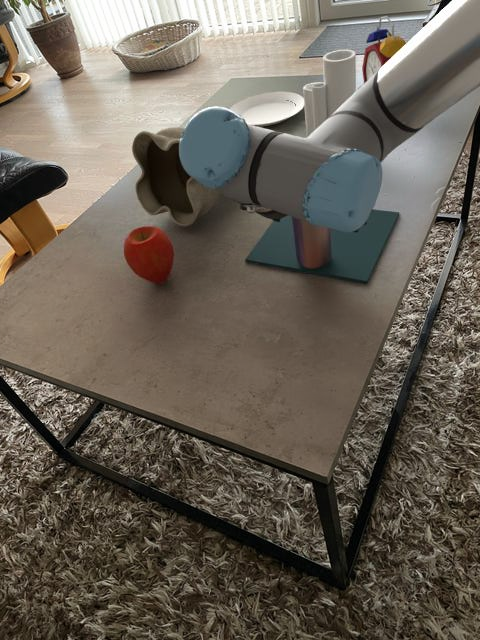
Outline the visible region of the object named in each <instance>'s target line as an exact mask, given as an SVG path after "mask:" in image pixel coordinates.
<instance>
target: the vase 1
mask: <svg viewBox="0 0 480 640" xmlns="http://www.w3.org/2000/svg"><path fill="white" fill-rule="evenodd" d="M184 128H185V127H182V126H172V127H166V128H163V129H161V130H159V131H157V132H156V133H154V132H150V131H147V130H143V131H140V132H138V133H137V134H136V135H135V137H134V139H133V141H132V146H131V151H132V155H133V158H134V160H135V161H136V164H137V165H138V166H139V168H140V169H141V175H140V177H139V178H138V179H137V181H136V182H135V187H134V188H135V194H136V197H137V200H138V201H139V204H140V205H141V207H142V208H143V210H144V211H145V212H146V213H147V214H148V215H150V216H156V215H160V214H165V213H168V215H169V217H170V219H171V220H172V222H174V223H175V224H177V225H179V226H181V227H189V226H191V225H193V224H194V223H195V221H196V220H197V218H200V217H202V216H205V215H206V214H207V213H209V211H211V209H212V208H213V207H214V205H215V204H216V202H217V200H218V198H219V196H220V193H219V192H217V191H215V190H213V189H210V188H207V187H203V186H202V185H201V183H199V182H198V181H197V180H195V179H194V178H192V177H191V176H190V175H189V174H188V173H187V172H186V171H185V169H184V168H183V166H182V163H181V160H180V156H179V144H180V139H181V135H182V133H183V130H184Z"/></svg>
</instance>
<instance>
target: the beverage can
mask: <svg viewBox="0 0 480 640" xmlns="http://www.w3.org/2000/svg"><path fill="white" fill-rule="evenodd" d="M292 224H293V232H294V241H295V250H296V259H297V262H298V263H299V264H300V265H301V266H302V267H304V268H306V269H320V268H322V267H324V266H326V265H327V264H328V263H329V261H330V260H331V258H332V248H331V228H328V227H321V226H319V227H318V226H315V225H312V224H311V223H309V222H306V221H303V220H301V219H298V218H295V217H292Z"/></svg>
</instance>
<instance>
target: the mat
mask: <svg viewBox="0 0 480 640" xmlns="http://www.w3.org/2000/svg"><path fill="white" fill-rule="evenodd" d="M399 217H400V211H391V210H383V209H374V208H372V210H371V212H370V215H369V217H368V220H367V224H366V225H362V226H361V227H360V228H359V231H358V233H357V232H343V231H339V230H335V229H331V248H332V258H331V260H330V261H329V263H328V264H327V265H326V266H324V267H322V268H320V269H306V268H304V267H302V266H301V265H300V264H299V263H298V262H297V259H296V250H295V241H294V232H293V224H292V216H289V215H288V216H286V217H283V218H281V219H280V222H276V221H274V220H272V222H271V224H270V225H268V227H267V228H266V230H265V232H264V233H263V235H262V236H261V237H260V239H259V240H258V241H257V242H256V244H255V245H254V247H253V248H252V250H251V251H250V252H249V254H248V255H247V256H246V258H245V259H244V261H245V263H249V264H254V265H260V266H266V267H270V268H271V267H272V268H277V269H283V270H287V271H293V272H299V273H305V274H311V275H315V276H321V277H326V278H333V279H336V280H337V279H338V280H344V281H348V282H355V283H360V284H365V285H366V284H367V285H368V283H369V281H370V279H371V277H372V274H373V272H374V270H375V268H376V266H377V264H378V261H379V260H380V257H381V255H382V253H383V251H384V249H385V247H386V245H387V242H388V240H389V238H390V236H391V235H392V234H391V233H392V232H393V230H394V227H395V225H396V223H397V221H398V219H399Z"/></svg>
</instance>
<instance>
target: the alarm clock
mask: <svg viewBox="0 0 480 640" xmlns="http://www.w3.org/2000/svg"><path fill="white" fill-rule="evenodd" d="M385 19H387V21H388V22H389V24H390V25H391V32H390V31H389V29H387V28H382V20H385ZM378 22H379V25H377V26H376V29H375V30H374V31H372V32H371V33H369V34H368V36H367V39H366V42H365V43H366V44H369V43H372V44H370V45H369V46H367V47H365V49H364V54H363V60H362V66H361V70H362V77H363V78H362V80H363V84H364V83H366V82H367V81H368V80H369V79H370V78H371V77H372V76H373V75H374V74H375V73H377V72H378V71H379V70H380V69H381V68H382V67H383V66H384V65H385V64H386V63H387V62H388V61H389V60H390V59H391V58H392V57H393V56H394V55H395V54H396V53H397V52H398V51H400V50H401V49H402V48H403V47H404V46H405V45H406V44H407V42H406V41H405V39H404V38H402V37H401V36H399V35H395V24H394V23H393V21H392V20H391V19H390V17H389V16H388V15H384V16H381V17H379V21H378ZM381 40H383V41H381ZM375 42H376V43H375Z"/></svg>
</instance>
